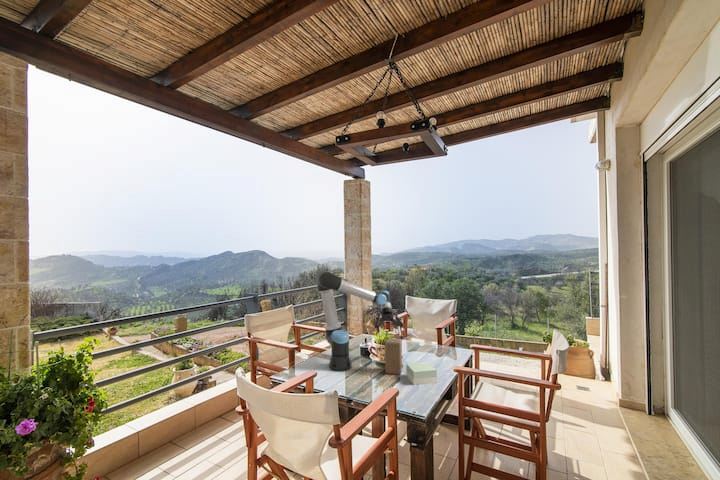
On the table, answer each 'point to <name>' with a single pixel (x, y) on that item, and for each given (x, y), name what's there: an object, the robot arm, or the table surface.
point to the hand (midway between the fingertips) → (390, 336)
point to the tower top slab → (421, 370)
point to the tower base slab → (421, 380)
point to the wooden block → (393, 356)
